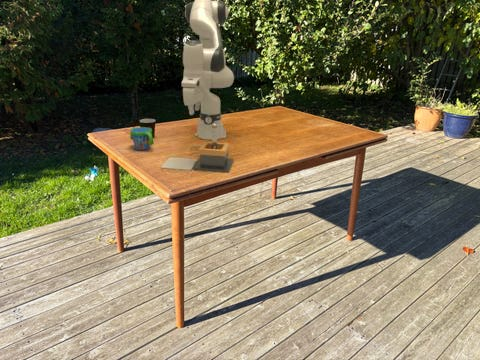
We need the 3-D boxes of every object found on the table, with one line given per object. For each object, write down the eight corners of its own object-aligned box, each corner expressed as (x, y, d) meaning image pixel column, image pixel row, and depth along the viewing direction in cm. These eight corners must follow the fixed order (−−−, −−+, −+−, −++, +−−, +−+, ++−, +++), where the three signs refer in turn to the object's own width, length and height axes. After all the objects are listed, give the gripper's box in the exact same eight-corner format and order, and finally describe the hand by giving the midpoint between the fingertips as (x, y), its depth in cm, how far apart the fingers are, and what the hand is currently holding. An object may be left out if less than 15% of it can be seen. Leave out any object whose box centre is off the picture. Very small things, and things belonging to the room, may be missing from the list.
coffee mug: (158, 136, 214) (157, 119, 210) (153, 140, 207) (152, 123, 203) (138, 135, 215) (137, 118, 211) (133, 139, 207) (132, 121, 204)
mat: (169, 158, 181) (169, 157, 181) (197, 160, 180) (197, 159, 180) (160, 168, 168) (160, 167, 168) (190, 170, 167) (190, 169, 167)
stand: (201, 158, 182) (201, 118, 175) (233, 160, 181) (234, 120, 173) (193, 170, 168) (192, 127, 160) (228, 172, 166) (229, 129, 158)
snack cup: (125, 147, 194) (123, 128, 190) (142, 143, 201) (141, 124, 197) (142, 154, 185) (140, 134, 181) (159, 150, 192) (158, 131, 188)
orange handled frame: (194, 145, 178) (194, 140, 177) (229, 148, 176) (229, 143, 175) (187, 153, 167) (187, 148, 166) (225, 156, 165) (225, 151, 164)
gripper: (193, 77, 171) (193, 107, 176) (180, 83, 152) (181, 116, 157) (206, 78, 170) (206, 108, 175) (195, 83, 151) (195, 117, 156)
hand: (194, 112), depth 166 cm, fingers open, 8 cm apart
